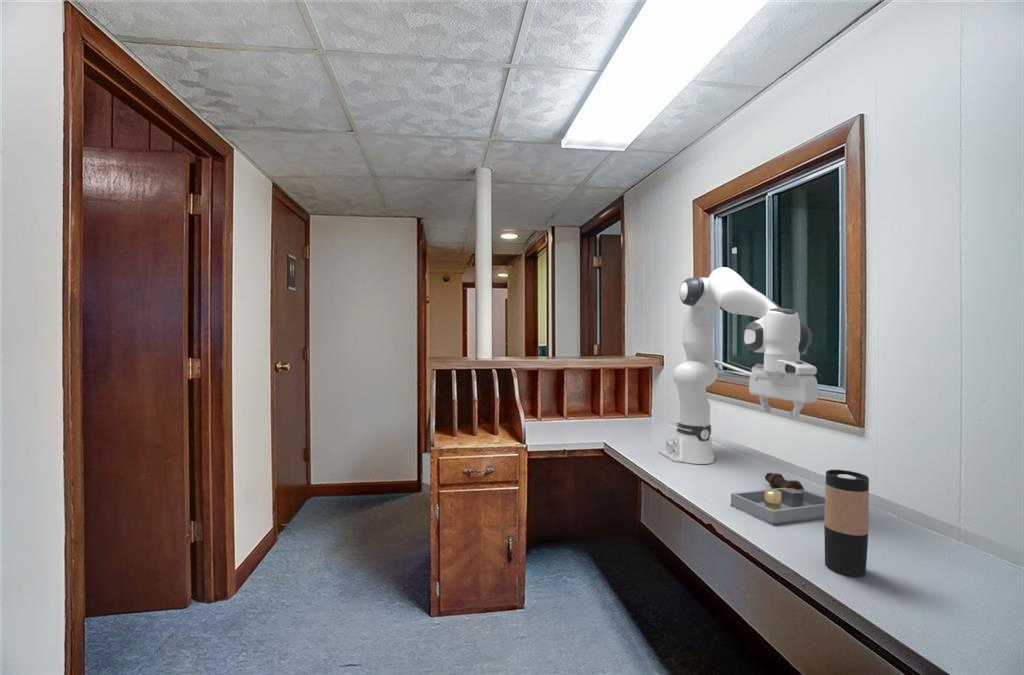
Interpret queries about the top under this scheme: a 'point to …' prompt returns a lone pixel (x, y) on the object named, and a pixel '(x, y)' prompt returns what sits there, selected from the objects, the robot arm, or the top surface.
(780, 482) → the bolt
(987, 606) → the top surface
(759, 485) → the top surface
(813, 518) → the parts tray
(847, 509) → the travel mug
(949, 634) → the top surface
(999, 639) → the top surface
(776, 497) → the brass cylinder
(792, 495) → the steel block
